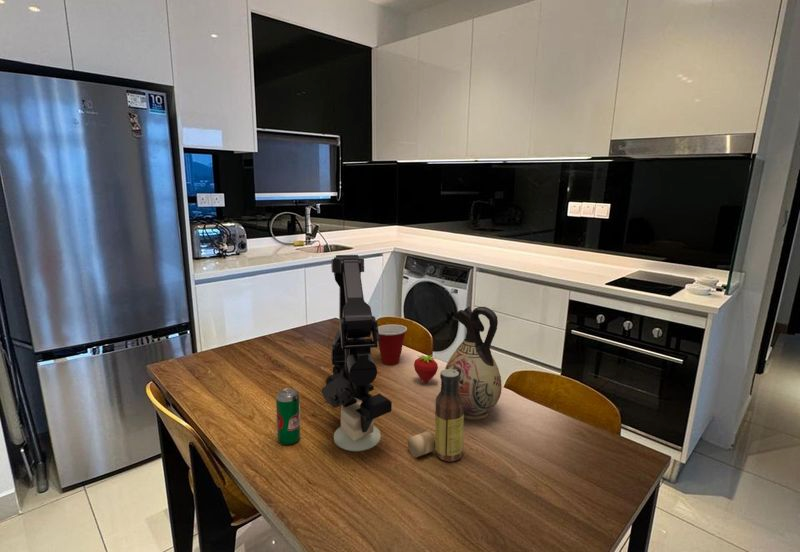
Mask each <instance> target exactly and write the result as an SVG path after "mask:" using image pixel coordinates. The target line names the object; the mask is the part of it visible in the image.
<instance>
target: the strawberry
mask: <svg viewBox="0 0 800 552" xmlns="http://www.w3.org/2000/svg"><path fill="white" fill-rule="evenodd" d="M417 357H418V358H417V359H415V360H414V362H413V368H414V371H415V373H416V374H417V376H418V377H419V379H420V380H421V381H422V382H423V383H424V384H427V383H429V381H430V380H432V379H433V378H434V376H436V374H437V372H438V369H439V366H438V363H437V361H436V360H435V358H434V357H433V354H430V355H427V356H426V355H424V354H421V355H420V356H419V355H417Z"/></svg>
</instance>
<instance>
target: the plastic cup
mask: <svg viewBox="0 0 800 552" xmlns="http://www.w3.org/2000/svg"><path fill="white" fill-rule="evenodd" d="M407 330H408V327H407V326H405V325H402V324H393V323H392V324H382V325H380V326H379V325H378V332H379V341H377V344H378V348H379V353H380V360H381V363H382V364H383V365H386V366H395V365H398V364H399V362H400V360H401V356H402V355H401V354H402V350H403V345H404V340H405V336H406V333H407Z"/></svg>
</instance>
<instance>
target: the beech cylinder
mask: <svg viewBox="0 0 800 552" xmlns="http://www.w3.org/2000/svg"><path fill="white" fill-rule="evenodd" d="M407 448H408V450H409V453H410V454H411V457H413V458H418V457H422V456H425V455H427V454H430V453H432V452H434V451H436V450H435V437H434V436H433V434H432V433H431V432H430V431H424V432H421V433H417V434H414V435H413V436H409V437H408V439H407Z"/></svg>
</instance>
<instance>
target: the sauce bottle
mask: <svg viewBox="0 0 800 552" xmlns="http://www.w3.org/2000/svg"><path fill="white" fill-rule="evenodd" d="M439 375H440V376H439V377H440V392H439V393H437V394H438V395H436V398H435V411H434V441H435V450H434V451H435V453H436V454H435V455H436V457H438V458H439V459H440V460H442V461H444V462H448V463H449V462H450V463H451V462H456V461H458V460H460V459H461V458H462V455H463V449H464V420H465V418H464V411H463V402H462V400H461V397H460V395H459V392H458V391H459V389H458V380H459V372H458V371H456V370H454V369H445V368H444V369H442V370H441V371H440V374H439Z"/></svg>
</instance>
